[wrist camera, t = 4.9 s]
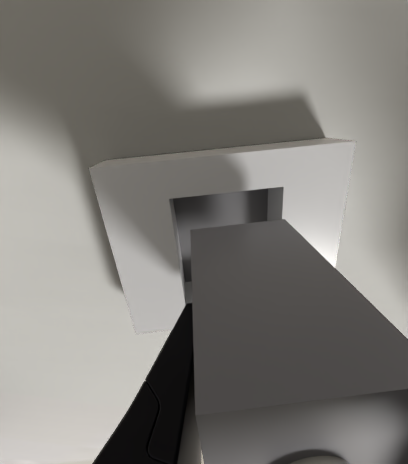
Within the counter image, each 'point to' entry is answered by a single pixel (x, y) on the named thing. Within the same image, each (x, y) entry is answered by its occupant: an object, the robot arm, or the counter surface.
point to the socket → (212, 210)
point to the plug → (290, 355)
